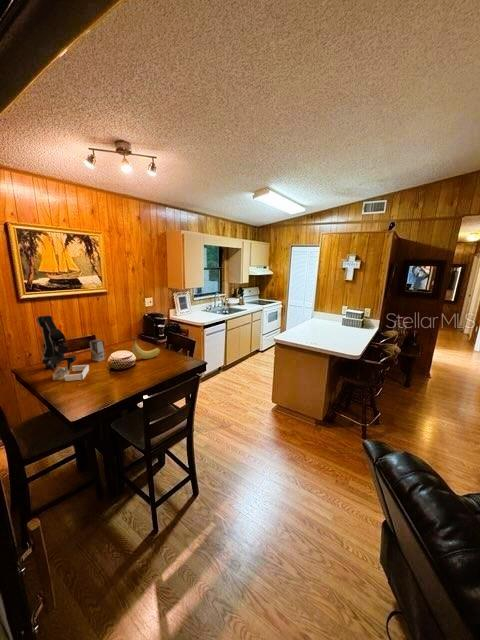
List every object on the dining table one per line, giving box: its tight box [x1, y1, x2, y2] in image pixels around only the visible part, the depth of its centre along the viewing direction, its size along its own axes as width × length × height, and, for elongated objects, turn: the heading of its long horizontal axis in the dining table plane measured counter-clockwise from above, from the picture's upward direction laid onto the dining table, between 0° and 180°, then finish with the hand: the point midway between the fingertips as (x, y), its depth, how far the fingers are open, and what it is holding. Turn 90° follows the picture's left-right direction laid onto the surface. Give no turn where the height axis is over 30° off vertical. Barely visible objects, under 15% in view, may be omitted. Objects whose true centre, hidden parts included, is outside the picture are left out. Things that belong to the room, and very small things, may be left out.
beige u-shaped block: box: [64, 364, 90, 382], centre depth 188 cm, size 11×17×4 cm, turn 16°
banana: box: [131, 337, 161, 360], centre depth 221 cm, size 23×6×20 cm, turn 128°
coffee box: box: [89, 338, 106, 362], centre depth 216 cm, size 9×6×16 cm
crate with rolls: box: [52, 366, 71, 382], centre depth 185 cm, size 7×12×5 cm, turn 17°
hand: (61, 371), depth 185 cm, fingers open, 9 cm apart
